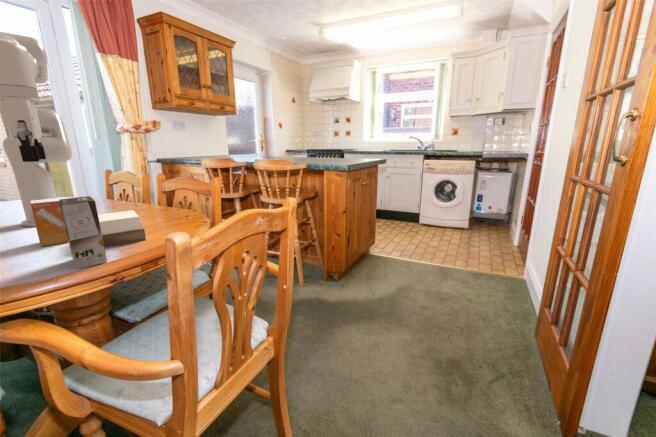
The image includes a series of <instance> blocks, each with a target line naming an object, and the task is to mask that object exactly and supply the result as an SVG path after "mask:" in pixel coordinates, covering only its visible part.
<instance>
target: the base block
mask: <svg viewBox="0 0 656 437" xmlns="http://www.w3.org/2000/svg"><path fill="white" fill-rule="evenodd" d="M140 226H141V229H138V230H132V231H126V232H120V233H113V234H107V235H102V238H103V243H104V248H108V247H113V246H114V247H115V246H120V245H126V244H131V243H137V242H142V241H146V240H147V239H146V237H147V236H146V231H145V228H144V227H143V225H142V224H141V223H140Z"/></svg>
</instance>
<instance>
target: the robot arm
mask: <svg viewBox="0 0 656 437" xmlns="http://www.w3.org/2000/svg"><path fill="white" fill-rule="evenodd" d="M48 74H49V72H48V56H47V53H46V49H45V47H44V45H43V44H42V43H41V42H40V41H39V40H38V39H36V38H34V37H30V36H27V35H26V36H25V35H20V34H14V33H10V32H4V31H0V117H1V121H2V124H3V127H4V128H5V130H6V131H7V132H9V133H10V134H9V135H10V136H7V137H5V138H4V139H3V141H2V147H3V150H4V153H5V155H6V157H7V159H8V161H9V163H10V166H11V169H12V171H13V175H14V179H15V182H16V185H17V189H18V192H19V196H20V201H21V205H22V207H23V211H24V216H25V218H26V219H24V220H22V221H21V226H22V227H27V228H28V227H36V225H35V221H34V217H33V213H32V208H31V200H42V199H51V198H58V196H57V193H56V188H55V184H54V181H53V180H54V179H53V176H52V174H51V173H50V172H49V170H48V169H46V168H44V167H43V166H41V165H40V164H42V163H43V164H44V163H63V162H69V161H70V160H71V159H72V157H73V153H72V147H71V144H70V141H69V137H68V133H67V131H66V128H65V124H64V121H63V118H62V116H61V115H60V114H59V113H58V112H57V111H56V110H53V109H51V108H37V107H36V106H37V105H36V103H40V102H41V101H40V97H39V92H38V87H37V84H41V85H42V84H45V83H46V82H47V81H48V78H49V76H48Z"/></svg>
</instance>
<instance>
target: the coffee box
mask: <svg viewBox="0 0 656 437" xmlns="http://www.w3.org/2000/svg"><path fill="white" fill-rule="evenodd" d="M59 201H60V206H61V211H62V215H63V220H64V224H65V228H66V233H67V237H68V241H69V242H68V244H69V249H70V252H71V256H72V261H73V263H74V266H75V269H77V270H79V269H84V268H88V267H91V266H97V265H100V264H106V263H107V262H108V261H107V260H108V259H107V254H106V249H105V248H106V247H104V243H103V238H102V233H101V228H100V223H99V218H98V215H99V214H98V210H97V203H96V201H95V199H94V198H92V196H90V195H88V196H79V197H78V196H76V197H70V198H67V199H60V200H59Z"/></svg>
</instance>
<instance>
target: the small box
mask: <svg viewBox="0 0 656 437" xmlns="http://www.w3.org/2000/svg"><path fill="white" fill-rule="evenodd" d="M60 199H68V198H67V197H66V196H65V197H57V198H51V199H42V200H31V208H32V213H33V217H34V221H35V225H36V226H35V228H36V232H37V236H38V241H39V243H40V244H39V246H40V247H41V248H42V247H46V246H51V245H53V246H54V245H59V244H66V243H69V241H68V237H67V233H66V228H65V224H64V220H63V215H62V211H61V206H60V201H59V200H60Z"/></svg>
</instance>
